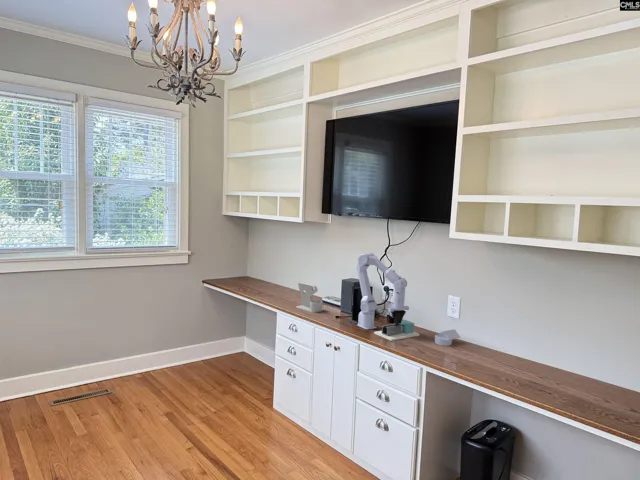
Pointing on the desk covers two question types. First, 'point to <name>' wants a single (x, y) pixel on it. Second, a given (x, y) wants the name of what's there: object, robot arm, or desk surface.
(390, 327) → the grey rail guide
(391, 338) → the base board
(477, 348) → the desk surface
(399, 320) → the bar
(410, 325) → the socket
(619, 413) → the desk surface
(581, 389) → the desk surface
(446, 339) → the wedge on round base
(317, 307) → the phone holder
